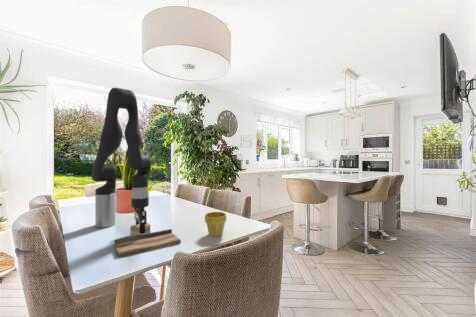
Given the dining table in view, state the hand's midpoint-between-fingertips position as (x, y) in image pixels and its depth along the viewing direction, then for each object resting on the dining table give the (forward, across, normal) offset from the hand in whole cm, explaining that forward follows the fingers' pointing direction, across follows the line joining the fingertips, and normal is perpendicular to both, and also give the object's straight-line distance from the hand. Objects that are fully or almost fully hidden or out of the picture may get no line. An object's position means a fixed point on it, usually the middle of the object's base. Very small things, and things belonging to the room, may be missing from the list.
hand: (140, 230), depth 106 cm
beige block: (+3, 0, 0) cm, 3 cm away
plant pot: (+3, +18, +30) cm, 36 cm away
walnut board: (+3, +14, 0) cm, 14 cm away
